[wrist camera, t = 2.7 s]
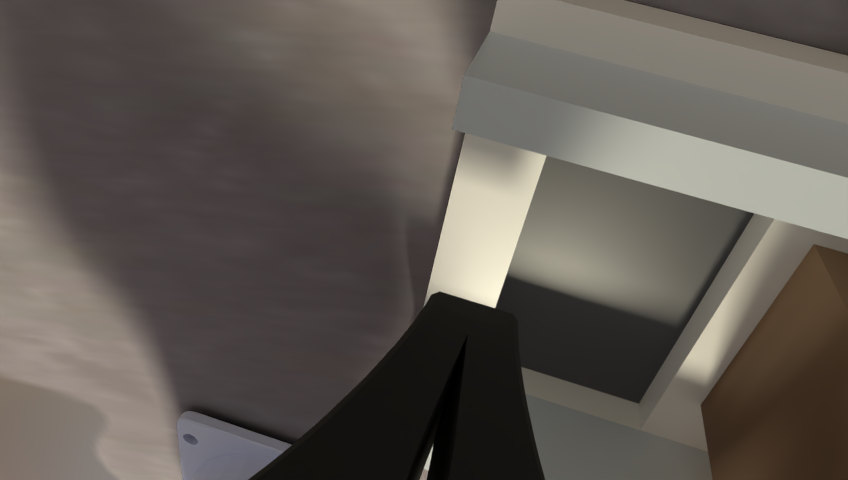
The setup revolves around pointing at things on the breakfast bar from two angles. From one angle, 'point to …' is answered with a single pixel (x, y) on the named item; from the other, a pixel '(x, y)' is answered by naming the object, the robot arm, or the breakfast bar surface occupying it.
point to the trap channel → (637, 214)
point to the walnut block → (788, 384)
